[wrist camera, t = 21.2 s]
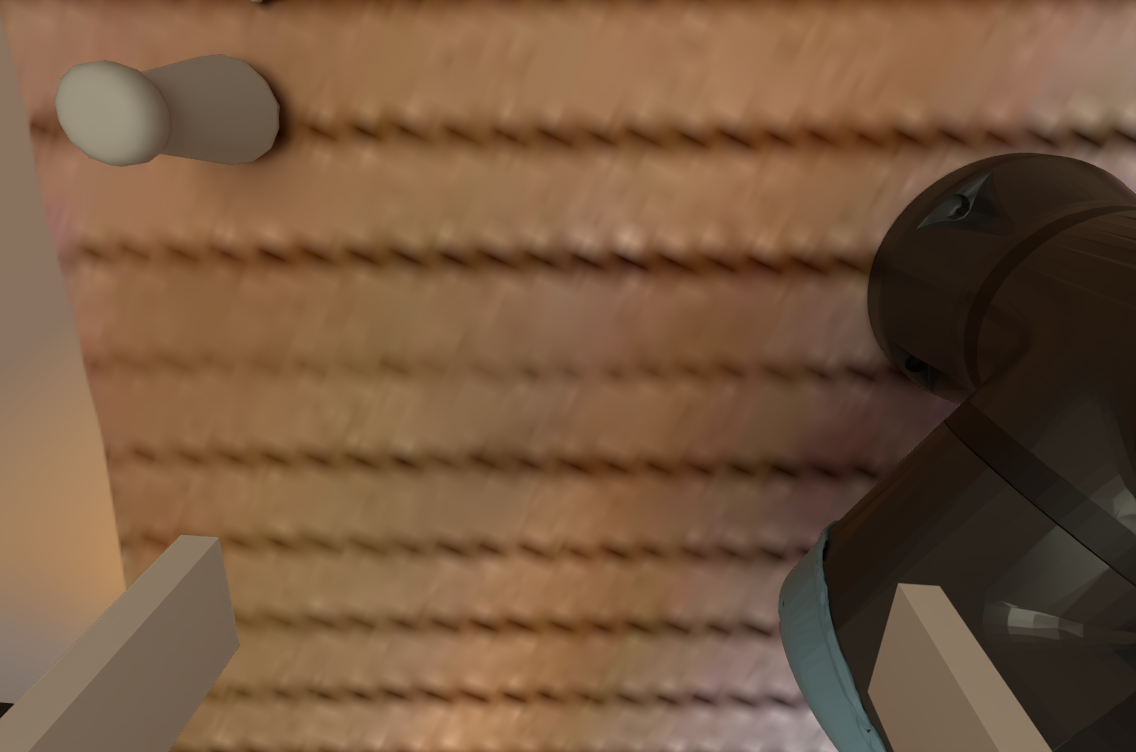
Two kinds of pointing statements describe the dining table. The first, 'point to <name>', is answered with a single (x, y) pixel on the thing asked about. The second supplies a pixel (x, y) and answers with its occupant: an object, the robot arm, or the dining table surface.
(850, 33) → the dining table surface
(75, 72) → the salt shaker
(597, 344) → the dining table surface
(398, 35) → the dining table surface
